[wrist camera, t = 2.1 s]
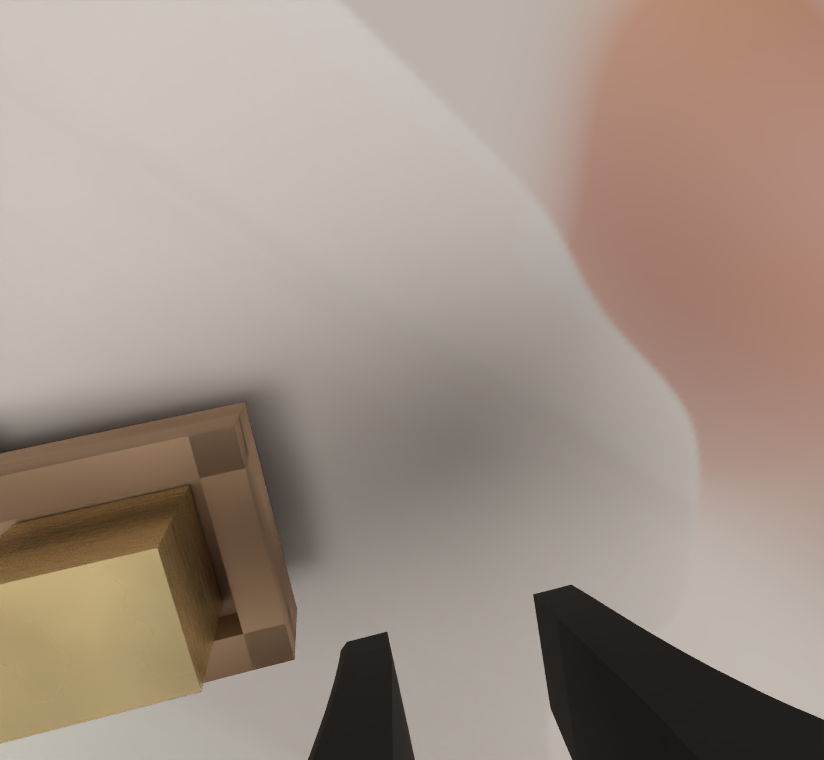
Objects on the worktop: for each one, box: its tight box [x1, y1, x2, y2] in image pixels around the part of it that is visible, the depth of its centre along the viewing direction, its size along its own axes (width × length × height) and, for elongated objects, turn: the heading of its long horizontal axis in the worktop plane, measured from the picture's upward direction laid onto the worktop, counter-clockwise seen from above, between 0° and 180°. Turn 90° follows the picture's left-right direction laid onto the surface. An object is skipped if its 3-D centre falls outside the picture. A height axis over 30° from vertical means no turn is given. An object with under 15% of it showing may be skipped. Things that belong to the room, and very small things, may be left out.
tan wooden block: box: [0, 485, 223, 743], centre depth 14 cm, size 3×4×3 cm
